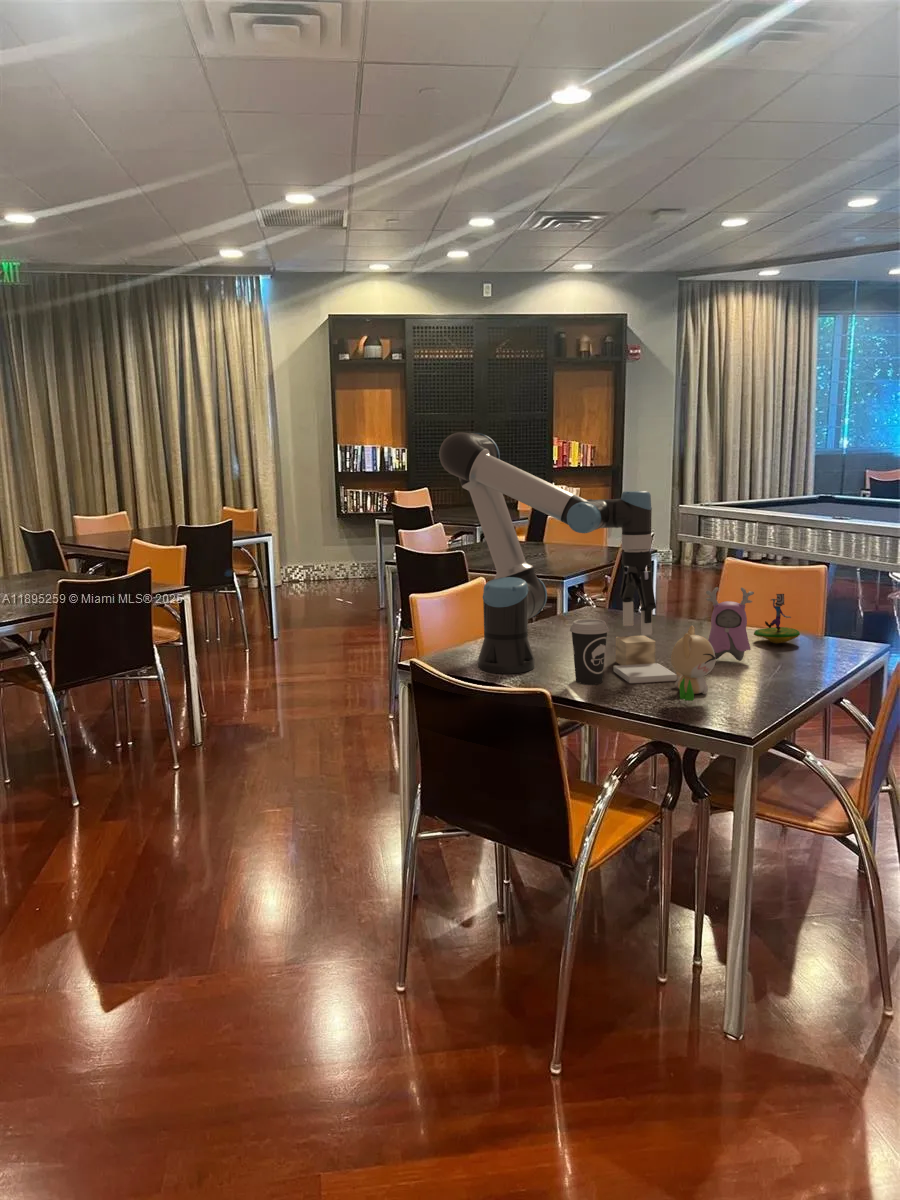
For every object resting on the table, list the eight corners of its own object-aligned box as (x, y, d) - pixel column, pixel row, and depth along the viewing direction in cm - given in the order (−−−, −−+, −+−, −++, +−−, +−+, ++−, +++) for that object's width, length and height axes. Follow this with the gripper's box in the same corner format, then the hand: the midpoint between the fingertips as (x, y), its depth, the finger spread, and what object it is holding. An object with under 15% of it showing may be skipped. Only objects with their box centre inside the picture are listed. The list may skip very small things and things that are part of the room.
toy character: (703, 663, 217) (705, 589, 214) (705, 654, 227) (707, 583, 224) (751, 666, 213) (754, 590, 210) (751, 657, 223) (754, 584, 219)
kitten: (711, 703, 181) (713, 637, 179) (665, 699, 185) (666, 634, 183) (718, 686, 195) (720, 625, 193) (675, 683, 199) (676, 622, 197)
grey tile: (629, 683, 200) (629, 677, 199) (613, 671, 211) (613, 665, 211) (676, 680, 201) (676, 674, 201) (657, 668, 213) (658, 663, 213)
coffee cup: (606, 676, 207) (607, 618, 204) (610, 686, 197) (611, 625, 195) (568, 676, 208) (568, 618, 205) (570, 686, 198) (570, 625, 196)
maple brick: (625, 669, 214) (625, 643, 213) (615, 662, 222) (615, 636, 220) (654, 667, 215) (655, 641, 214) (643, 660, 223) (644, 635, 222)
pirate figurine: (751, 637, 248) (753, 588, 246) (796, 638, 245) (798, 589, 242) (755, 647, 235) (757, 595, 233) (802, 648, 232) (805, 596, 229)
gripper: (669, 554, 201) (669, 638, 205) (633, 545, 226) (634, 621, 229) (640, 555, 201) (640, 640, 204) (607, 547, 225) (608, 622, 228)
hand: (637, 630), depth 217 cm, fingers open, 13 cm apart
